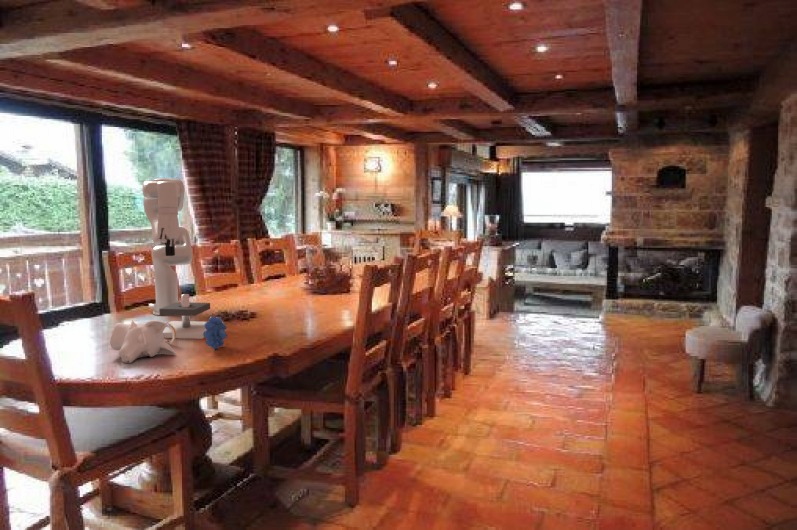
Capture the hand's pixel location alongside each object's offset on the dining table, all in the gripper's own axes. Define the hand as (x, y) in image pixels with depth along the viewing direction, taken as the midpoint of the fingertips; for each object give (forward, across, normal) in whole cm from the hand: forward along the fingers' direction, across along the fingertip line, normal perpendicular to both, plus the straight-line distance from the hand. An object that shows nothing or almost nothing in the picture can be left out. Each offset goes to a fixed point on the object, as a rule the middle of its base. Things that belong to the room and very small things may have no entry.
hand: (170, 255), depth 228 cm
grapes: (+29, +37, +35) cm, 59 cm away
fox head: (+29, +50, +14) cm, 60 cm away
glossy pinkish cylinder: (+27, +13, +12) cm, 32 cm away
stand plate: (+29, +13, +12) cm, 34 cm away
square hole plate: (+21, +13, +12) cm, 28 cm away
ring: (+29, +32, +14) cm, 46 cm away
